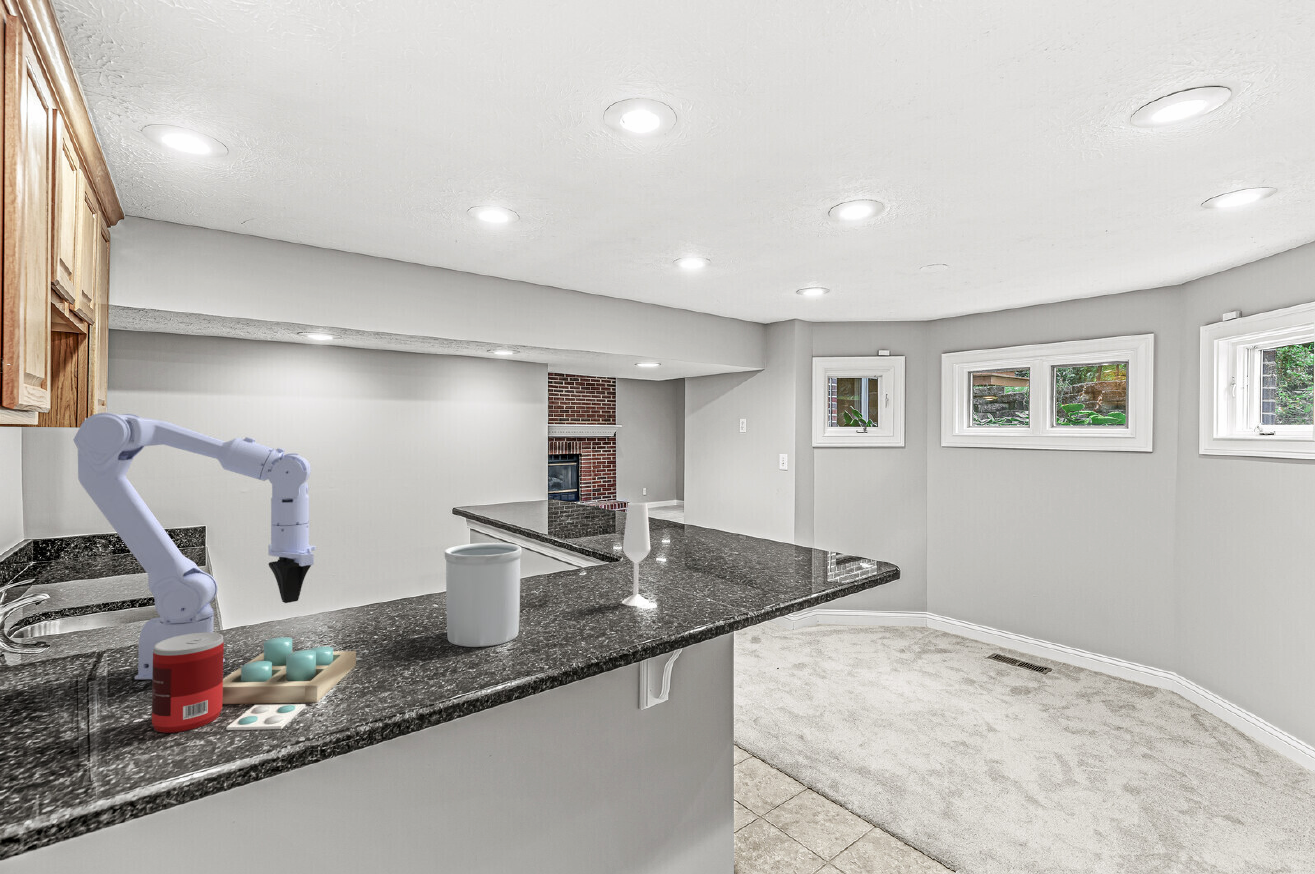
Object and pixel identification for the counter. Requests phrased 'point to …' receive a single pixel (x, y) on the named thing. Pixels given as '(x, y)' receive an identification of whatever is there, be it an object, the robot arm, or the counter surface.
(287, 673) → the button
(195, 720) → the canned food
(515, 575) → the utensil holder
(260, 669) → the button
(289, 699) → the wooden compartment tray
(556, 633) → the counter surface
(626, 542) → the champagne flute
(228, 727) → the tile
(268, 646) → the button
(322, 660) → the button
